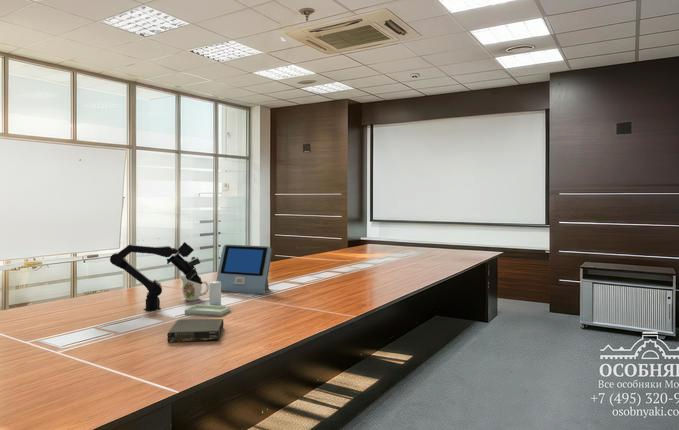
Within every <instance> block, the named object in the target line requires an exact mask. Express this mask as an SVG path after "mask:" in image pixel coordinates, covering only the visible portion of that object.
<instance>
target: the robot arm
mask: <svg viewBox="0 0 679 430" xmlns="http://www.w3.org/2000/svg"><path fill="white" fill-rule="evenodd" d="M194 251H195V249H194V248H193V247H192V246H191V245H189V244H188V243H187V242H186V241H184V242H182V244H181V245H180V246H179V247H178V248H177V247H176V248H175V247H171V246H170V245H163V246H162V245H161V246H149V245H138V244H137V245H136V244H130V243H129V244H128V245H127V246H126V247H124V248H123V249H121V250H120V251H119V252H115V253H113V254H111V255H110V258H109V261H110V263H111V264H112V265H114V266H116V267H117V268H119V269H122V270H124V271H125V272H127V274H129V275H130V276H131V277H133V278H134V279H136V281H138V282H139V283H140V284H141V285H143V286H144V287H145V288H146V290H147V293H146V298H145V308H143V311H149V312H153V311H156V310H161V309H162V307H160V306H161V304H160V303H161V302H160V297H159V296H160V295H161V294H162V293H163V287H162V285H161V283H160V282H159V281H157V280H156V279H154V280H152V279H150V278H148V277H147V276H145V274H143V273H142V272H141V271H140V270H138V269H137V268H136V267H134V266H133V265H132V264H131V263H129V261H128V260H127V259H126V257H127V256H128V255H130V254H131V253H137V254H150V255H156V256H159V257H164V258H166V261H167V263H166V264H167V265H169V264H170V263H171V264H172V265H174V266H175V267H176V268H177V270H179V271H181V272H182V273H183V276H186V279H188V280H189V281H193V282H196V283H199V284H201V285H202V282H203V280H202V278H201V279H200V277H201V276H199V274H198V270H197V268H196V265H199V264H201V260H200V259H199V257H197V256H192V257H191V259H190V260H189V261H188V260H186V259H184V258H188V257H189V256H190V255H191V253H193V252H194Z"/></svg>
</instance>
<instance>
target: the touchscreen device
mask: <svg viewBox="0 0 679 430" xmlns="http://www.w3.org/2000/svg"><path fill="white" fill-rule="evenodd" d="M272 255H273V249H272V247H270V246H265V245H246V244H244V245H242V244H224V245H223V247H222V251H221V255H220V256H221V257H220V259H219V265H218V270H217V275H216V280H215V281H218V282H221V292H225V293H226V292H227V293H240V294H253V295H265V294H266V291H267V290H269V289H270V286H269V279H268V278H269V274H270V273H269V272H270V267H271V260H272Z"/></svg>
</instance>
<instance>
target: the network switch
mask: <svg viewBox="0 0 679 430" xmlns="http://www.w3.org/2000/svg"><path fill="white" fill-rule="evenodd" d="M223 329H224V319H223V318H188V319H187V318H184V319H183V318H182V319H177V320H176V321H175V323H174V324H173V325H172V327H171V328H170V329H169V331H168V332H167V334H166V335H167V343H173V342H178V343H180V342H194V341H195V342H199V341H201V342H202V341H217V342H218V341H219V339H220V335H221V334H222V331H223Z"/></svg>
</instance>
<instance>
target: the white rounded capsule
mask: <svg viewBox="0 0 679 430" xmlns="http://www.w3.org/2000/svg"><path fill="white" fill-rule="evenodd" d="M208 285H209V290H208V293H209V294H208V295H209V296H208V297H209V298H208V299H209V301H208V303H209V304H208V305H216V306H222V291H221V282H218V281H216V280H215V281H210V282H209V283H208Z"/></svg>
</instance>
